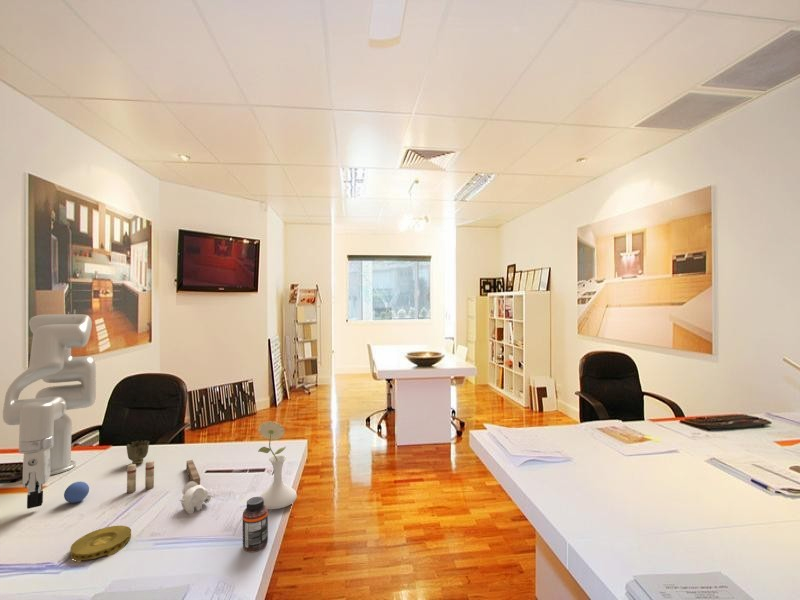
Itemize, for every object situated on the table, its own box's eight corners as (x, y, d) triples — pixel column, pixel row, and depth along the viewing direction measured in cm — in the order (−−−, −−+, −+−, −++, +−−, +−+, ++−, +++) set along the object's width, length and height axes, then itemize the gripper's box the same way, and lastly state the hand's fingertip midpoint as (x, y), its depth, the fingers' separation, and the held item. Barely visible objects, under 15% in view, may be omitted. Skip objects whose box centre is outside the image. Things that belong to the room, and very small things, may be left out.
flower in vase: (304, 497, 119) (304, 418, 120) (281, 516, 108) (281, 428, 109) (270, 492, 123) (270, 414, 124) (245, 509, 112) (245, 424, 113)
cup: (137, 467, 144) (137, 446, 144) (121, 466, 145) (121, 445, 146) (153, 460, 151) (153, 440, 151) (138, 459, 153) (138, 439, 153)
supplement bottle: (246, 539, 97) (247, 494, 97) (270, 537, 97) (270, 493, 98) (238, 554, 91) (239, 506, 91) (264, 552, 91) (264, 505, 92)
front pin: (126, 491, 125) (127, 465, 125) (135, 489, 126) (136, 463, 126) (126, 494, 123) (127, 467, 123) (135, 491, 124) (136, 465, 124)
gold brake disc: (61, 569, 87) (61, 559, 87) (81, 540, 98) (81, 532, 98) (124, 555, 92) (124, 546, 92) (136, 529, 103) (136, 521, 103)
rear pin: (144, 487, 127) (145, 462, 127) (153, 485, 129) (154, 460, 129) (145, 490, 125) (145, 464, 125) (154, 488, 126) (154, 462, 127)
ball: (65, 500, 118) (65, 481, 119) (89, 495, 122) (90, 476, 122) (62, 508, 114) (62, 488, 114) (88, 502, 117) (88, 483, 117)
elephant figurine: (217, 506, 114) (218, 482, 114) (182, 519, 107) (183, 493, 107) (208, 498, 119) (208, 475, 120) (174, 509, 112) (174, 485, 113)
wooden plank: (186, 468, 142) (186, 460, 142) (192, 467, 143) (192, 459, 144) (193, 488, 126) (193, 479, 126) (200, 486, 127) (200, 477, 127)
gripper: (48, 448, 109) (47, 512, 108) (57, 435, 121) (55, 493, 121) (12, 454, 105) (10, 521, 104) (24, 440, 117) (23, 500, 116)
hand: (34, 506), depth 112 cm, fingers closed
